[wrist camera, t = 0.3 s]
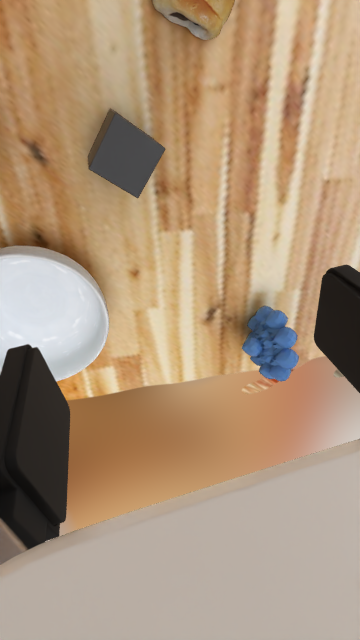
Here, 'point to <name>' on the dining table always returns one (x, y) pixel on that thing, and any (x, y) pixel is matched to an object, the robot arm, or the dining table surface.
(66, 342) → the cereal bowl
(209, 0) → the pastry
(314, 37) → the dining table surface
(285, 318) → the grapes
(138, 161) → the black block
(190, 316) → the dining table surface
